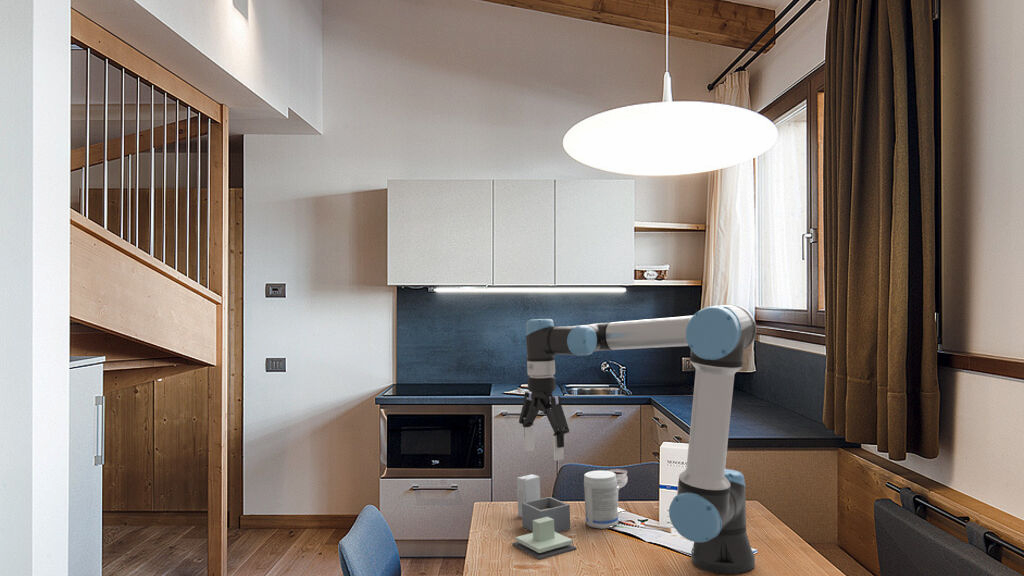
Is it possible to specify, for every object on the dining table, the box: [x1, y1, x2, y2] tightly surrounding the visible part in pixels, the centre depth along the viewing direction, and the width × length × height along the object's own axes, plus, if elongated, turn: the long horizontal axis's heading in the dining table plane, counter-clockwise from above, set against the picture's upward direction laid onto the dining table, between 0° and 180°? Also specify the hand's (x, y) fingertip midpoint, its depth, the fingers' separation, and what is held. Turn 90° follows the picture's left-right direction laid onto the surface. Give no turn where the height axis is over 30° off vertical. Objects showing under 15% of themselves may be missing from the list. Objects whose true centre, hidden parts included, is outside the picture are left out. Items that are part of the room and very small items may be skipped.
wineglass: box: [606, 468, 629, 512], centre depth 215 cm, size 7×7×12 cm
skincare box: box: [516, 473, 541, 518], centre depth 212 cm, size 6×4×12 cm
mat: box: [512, 541, 577, 560], centre depth 186 cm, size 13×12×1 cm
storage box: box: [521, 496, 571, 533], centre depth 201 cm, size 10×10×7 cm
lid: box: [515, 517, 573, 553], centre depth 186 cm, size 11×11×7 cm
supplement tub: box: [583, 470, 619, 530], centre depth 202 cm, size 10×10×15 cm
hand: (544, 455), depth 186 cm, fingers open, 13 cm apart
